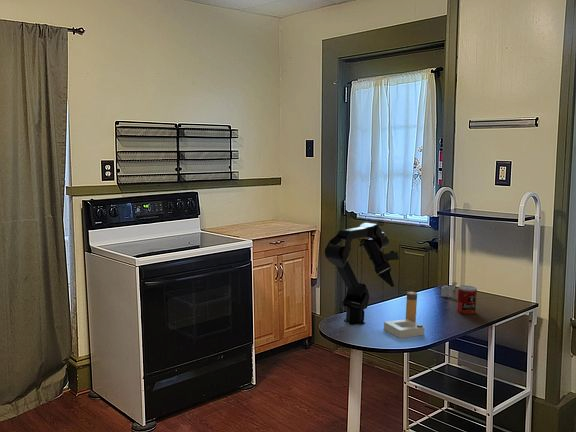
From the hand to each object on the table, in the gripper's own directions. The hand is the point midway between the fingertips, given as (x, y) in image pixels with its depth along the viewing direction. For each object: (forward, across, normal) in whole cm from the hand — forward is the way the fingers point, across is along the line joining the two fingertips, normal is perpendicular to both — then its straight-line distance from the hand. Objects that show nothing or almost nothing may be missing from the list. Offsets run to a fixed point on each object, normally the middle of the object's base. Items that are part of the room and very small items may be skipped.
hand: (393, 286), depth 233 cm
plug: (+17, 0, +2) cm, 17 cm away
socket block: (+17, -10, +5) cm, 20 cm away
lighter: (+18, +48, -19) cm, 55 cm away
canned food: (+25, +25, -21) cm, 41 cm away
